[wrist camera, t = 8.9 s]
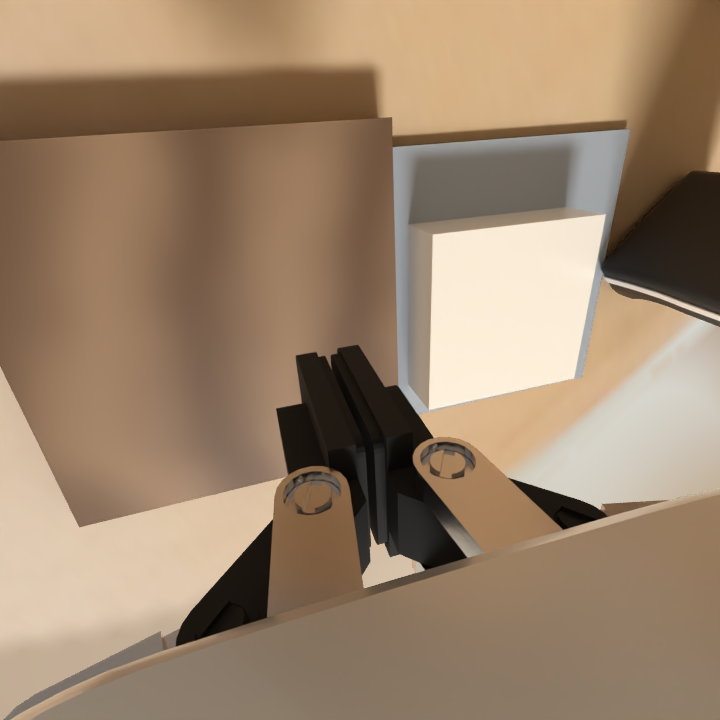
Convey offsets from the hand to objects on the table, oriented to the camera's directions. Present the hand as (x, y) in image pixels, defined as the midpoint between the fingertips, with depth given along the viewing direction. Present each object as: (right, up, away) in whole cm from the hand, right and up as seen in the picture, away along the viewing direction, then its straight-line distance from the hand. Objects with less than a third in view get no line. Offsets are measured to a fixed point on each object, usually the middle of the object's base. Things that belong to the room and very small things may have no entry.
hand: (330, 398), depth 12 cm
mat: (+8, +5, +10) cm, 14 cm away
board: (-5, +2, +7) cm, 9 cm away
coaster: (+7, +4, +10) cm, 13 cm away
